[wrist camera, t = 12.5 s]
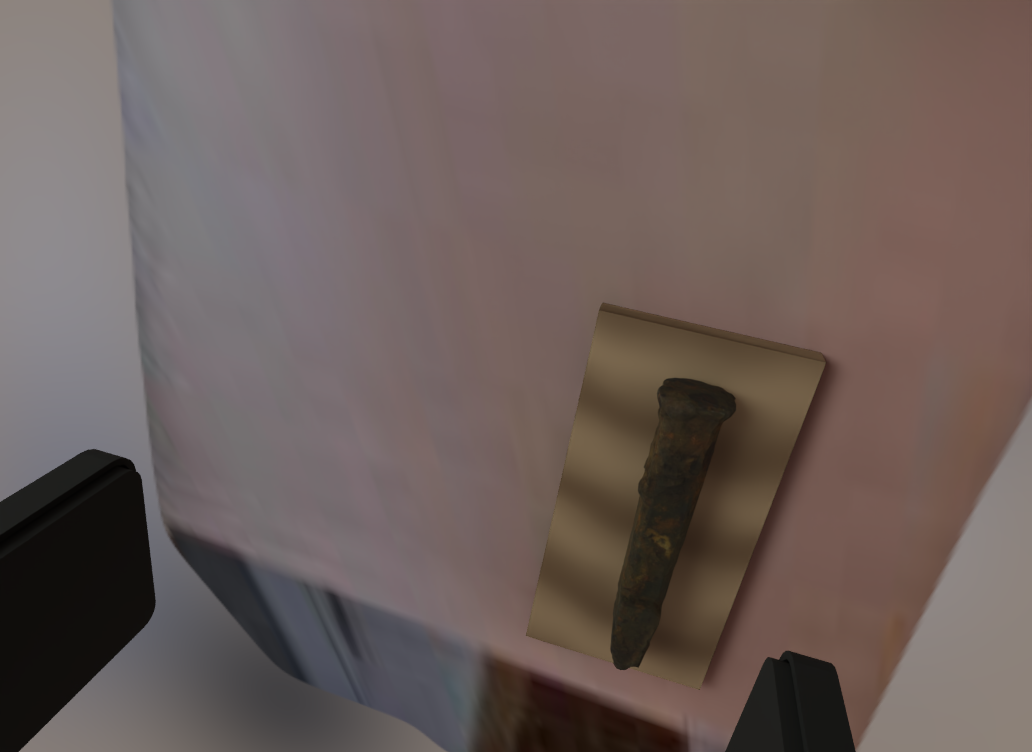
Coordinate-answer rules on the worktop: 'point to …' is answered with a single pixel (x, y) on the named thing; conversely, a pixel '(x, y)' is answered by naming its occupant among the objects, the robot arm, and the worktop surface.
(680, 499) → the hand tool
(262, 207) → the worktop surface
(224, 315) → the worktop surface
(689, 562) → the board
